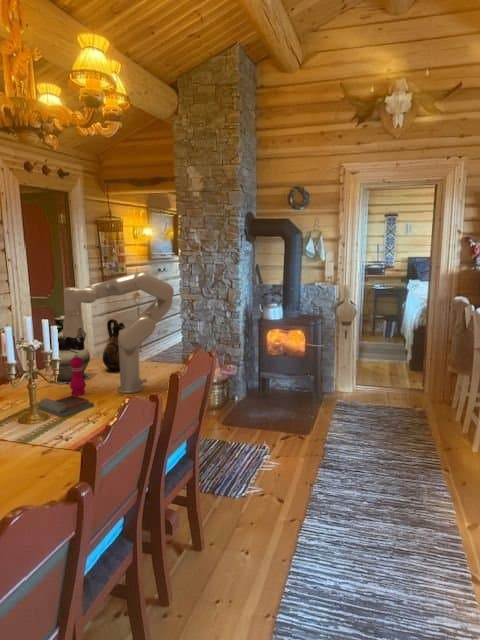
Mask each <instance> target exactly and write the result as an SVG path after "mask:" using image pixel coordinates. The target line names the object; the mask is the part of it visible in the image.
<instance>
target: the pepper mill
mask: <svg viewBox="0 0 480 640" xmlns="http://www.w3.org/2000/svg"><path fill="white" fill-rule="evenodd" d="M70 365H71V366H72V368H71V369H72V371H73V377H72V380H71V383H69V387H70V389H71V392H70V393H71V395H75V396H78V397H82V396H83V395H85V394H86V390H85V388H86V387H87V385H86V381H85V380H86V379H85V380H84V379H83V377H82V365H83V360H82V359H81V358H79V357H78V355H77V354H75V355H74V358H72V359H71V360H70Z"/></svg>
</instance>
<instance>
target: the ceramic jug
mask: <svg viewBox="0 0 480 640" xmlns="http://www.w3.org/2000/svg"><path fill="white" fill-rule="evenodd" d="M112 324H113V326H112ZM106 327H107V332H108V336H109V338H108V342H107V344H106V345H105V347H104V349H103V352H102V363H103V364H104V366H105V367H106V368H107V371H108V372H110V373H120V362H119V342H118V336H119V333H120V331H121V330H122V329H124V328H126V326H125V324H124V323H123V322H120V323H118V321H117V320H116V319H114V318H111V319H108V321H107V325H106Z"/></svg>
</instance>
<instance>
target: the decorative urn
mask: <svg viewBox="0 0 480 640" xmlns="http://www.w3.org/2000/svg"><path fill="white" fill-rule="evenodd" d="M64 316H65V314H64V315H63V314H62V315H60V316H59V317H54V318H53V321H55V323H54V324H53V326H57V329H58V342H59V356H60V358H61V359H62V360H61V362H60V365H59V374H57V376H58V377H57V382H56V384H60V385H61V384H62V385H65V384H70V383H71V380H72V377H73V371H72V369H71V368H72V366H71V365H70V360H71V359H72V358H74V355H75V354H77V355H78V357H79V358H81V359H82V360H83V365H82V377H83V379H84V380H87V379H91V378H92V376H91V375H88V374H87V375H86V374H85V371H86V370H87V367H88V365H89V363H90V361H91V360H90V358H91V353H90V352H89V350H88V349H87V348H86V347H85V346H84V350H78V344H77V342H78V340H77V338H70V339H71V342H72V346H71V347H68V348H66V347H65V339H64V336H63V332H62V329H63V322H64ZM80 338H81V337H80ZM48 380H49V381H50V382H52V381H53V377H50V378H48Z"/></svg>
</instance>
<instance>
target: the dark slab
mask: <svg viewBox="0 0 480 640" xmlns="http://www.w3.org/2000/svg"><path fill="white" fill-rule="evenodd" d="M89 400H90V399H88V398H85V397H82V396H75V395H72V394H71V395H68V396H65V397H62V398H58V399H50V398H47V397H45V398H42V399H40V404H39V405H37V409H38V408H39V409H38V410H40V411H44V412H46V413H49V414H51V415H54V416H56V417H57V416H58V417H59V418H60V417H61V418H64V417H68V416H71V415H74V414H76V413H80V412H82V411H85V410H88V409H90V408H94V407H95V403H93V402H90V401H89Z"/></svg>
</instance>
